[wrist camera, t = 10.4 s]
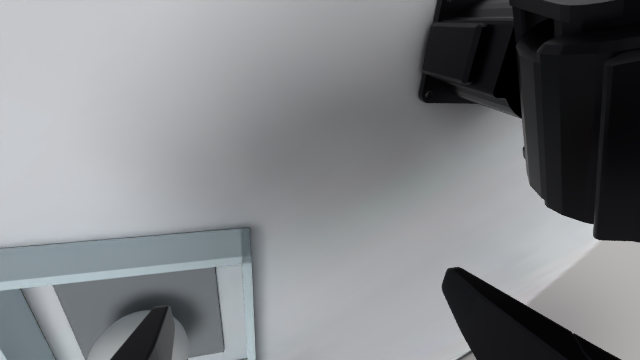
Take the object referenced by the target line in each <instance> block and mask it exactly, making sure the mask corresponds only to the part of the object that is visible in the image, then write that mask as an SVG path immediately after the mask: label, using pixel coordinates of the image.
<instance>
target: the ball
mask: <svg viewBox="0 0 640 360" xmlns="http://www.w3.org/2000/svg"><path fill="white" fill-rule="evenodd" d="M150 311H151V310H144V311H138V312H134V313H132V314H129V315H126V316H124V317H122V318H121V319H119V320H117V321H116V322H114V323H113V324H112V325H111V326H109V327H108V328H107V329H106V330H105V331H104V332H103V333H102V334H101V335H100V337H99V338H98V339H97V341H96V342H95V344H94V345H93V347H92V349H91V351H90V353H89V356H88V358H87V360H110V359H111V358H112V356H113V355H114V354H115V353H116V352H117V350H118V349H119V348H120V347H121V346H122V344H123V343H124V342H125V341H126V340H127V338H128V337H129V336H130V335H131V334H132V332H133V331H134V330H135V329H136V328H137V326H138V325H139V324H140V323H141V322H142V320H143V319H144V318H145V317H146V316H147V314H148V313H149V312H150ZM173 319H174V323H175V335H174V343H173V352H172V360H188V356H189V342H188V337H187V334H186V331H185V330H184V328H183V326H182V325H181V323H180V322H179V321H178V320H177V319H176V318H174V317H173Z"/></svg>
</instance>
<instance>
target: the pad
mask: <svg viewBox="0 0 640 360" xmlns="http://www.w3.org/2000/svg"><path fill="white" fill-rule="evenodd" d="M53 287H54V290H55V292H56V294H57V296H58V299H59V301H60V303H61V306H62V308H63V310H64V312H65V315H66V317H67V319H68V322H69V324H70V326H71V328H72V331H73V333H74V335H75V338H76V340H77V342H78V344H79V347H80V349H81V351H82V354H83V356H84V358H85V360H87V358H88V356H89V353H90V351H91V349H92V347H93V345H94V344H95V342H96V341H97V339H98V338H99V337H100V335H101V334H102V333H103V332H104V331H105V330H106V329H107V328H108V327H109V326H111V325H112V324H113V323H114V322H116V321H117V320H119V319H121V318H122V317H124V316H126V315H129V314H132V313H134V312H138V311H144V310H152V309H153V308H154V307H156V306H164V305H169V306H170V308H171V311H172V315H173V317H174V318H176V319H177V320H178V321H179V322H180V323H181V325H182V326H183V328H184V330H185V331H186V334H187V337H188V342H189V356H188V358H191V357H196V356H202V355H208V354H214V353H219V352H224V343H223V334H222V325H221V316H220V308H219V299H218V290H217V281H216V272H215V267H211V268H201V269H192V270H183V271H174V272H165V273H156V274H147V275H138V276H129V277H120V278H111V279H102V280H93V281H84V282H75V283H66V284H57V285H53Z"/></svg>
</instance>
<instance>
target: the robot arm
mask: <svg viewBox="0 0 640 360" xmlns="http://www.w3.org/2000/svg"><path fill="white" fill-rule="evenodd" d="M428 91H429V95H428V97H425V95H426V93H427V92H428ZM419 99H420V100H421V101H423V102H426V103H473V104H481V105H484V106H487V107H490V108H493V109H495V110H498V111H501V112H504V113H507V114H510V115H513V116H515V117H518V118H521V119H522V123H523V135H524V147H523V156H524V158H525V159H526V169H527V175H528V179H529V183H530V186H531V187H532V188H533V189H534V190H535V191H536V192H537V193H538V195H539V196H540V197H541V198H542V199H544V200H545V205H546V206H547V207H548V208H550V209H552V210H554V211H556V212H558V213H559V214H561V215H564V216H567V217H570V218H573V219H576V220H579V221H582V222H585V223H590V224H594V228H593V236H594V238H596V239H598V240H611V241H635V242H640V0H449V1H447V0H438V4H437V8H436V13H435V18H434V23H433V25H432V27H431V30H430V35H429V40H428V45H427V49H426V54H425V59H424V64H423V76H422V81H421V86H420V90H419ZM442 291H443V294H444V296H445V298H446V300H447V302H448V305H449V307H450V309H451V311H452V313H453V315H454V318H455V320H456V322H457V324H458V326H459V328H460V330H461V332H462V334H463V336H464V338H465V340H466V342H467V343H468V345H469V347H470V349H471V350H472V352H473V354H474V356H475V357H476V359H477V360H621V359H619V358H617V357H615V356H613V355H612V354H610V353H608V352H606V351H604V350H602V349H601V348H599V347H597V346H595V345H594V344H592V343H590V342H588V341H586V340H585V339H583V338H581V337H580V336H578V335H576V334H573V333H572V332H571V331H569V330H568V329H566V328H564V327H562V326H561V325H559V324H557V323H555V322H554V321H552V320H550V319H549V318H547V317H545V316H543V315H542V314H540V313H538V312H536V311H535V310H533V309H531V308H530V307H528V306H526V305H524V304H523V303H521V302H519V301H517V300H516V299H514V298H512V297H511V296H509V295H507V294H505V293H504V292H502V291H500V290H498V289H497V288H495V287H493V286H492V285H490V284H488V283H486V282H485V281H483V280H481V279H479V278H478V277H476V276H474V275H473V274H471V273H469V272H467V271H466V270H464V269H462V268H460V267H454V268H448V269H447V271H446V274H445V277H444V280H443V283H442ZM174 335H175V323H174V319H173V315H172V311H171V308H170V306H169V305H164V306H156V307H154V308H153V309H152V310H151V311H150V312H149V313H148V314H147V316H146V317H145V318H144V319H143V320H142V322H141V323H140V324H139V325H138V326H137V328H136V329H135V330H134V331H133V332H132V334H131V335H130V336H129V337H128V338H127V340H126V341H125V342H124V343H123V344H122V346H121V347H120V348H119V349H118V350H117V352H116V353H115V354H114V355H113V356H112V358H111V359H110V360H172V352H173V343H174Z"/></svg>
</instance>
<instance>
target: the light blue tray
mask: <svg viewBox="0 0 640 360" xmlns="http://www.w3.org/2000/svg"><path fill="white" fill-rule="evenodd" d="M238 264H242V275H243V291H244V308H245V324H246V341H247V357H248V359H244V360H256V356H255V333H254V309H253V286H252V262H251V245H250V230H249V228H240V229H229V230H217V231H205V232H193V233H181V234H169V235H157V236H145V237H133V238H121V239H109V240H97V241H85V242H73V243H61V244H49V245H37V246H25V247H13V248H2V249H0V360H56V359H55V357H54V355H53V353H52V351H51V350H50V348H49V346H48V344H47V342H46V340H45V338H44V336H43V334H42V332H41V330H40V328H39V326H38V324H37V322H36V320H35V318H34V316H33V314H32V312H31V310H30V308H29V306H28V304H27V302H26V300H25V298H24V296H23V294H22V292H21V290H20V289H21V288H30V287H39V286H48V285H57V284H66V283H75V282H84V281H93V280H102V279H111V278H120V277H129V276H138V275H147V274H156V273H165V272H174V271H183V270H192V269H201V268H211V267H220V266H229V265H238Z"/></svg>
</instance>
